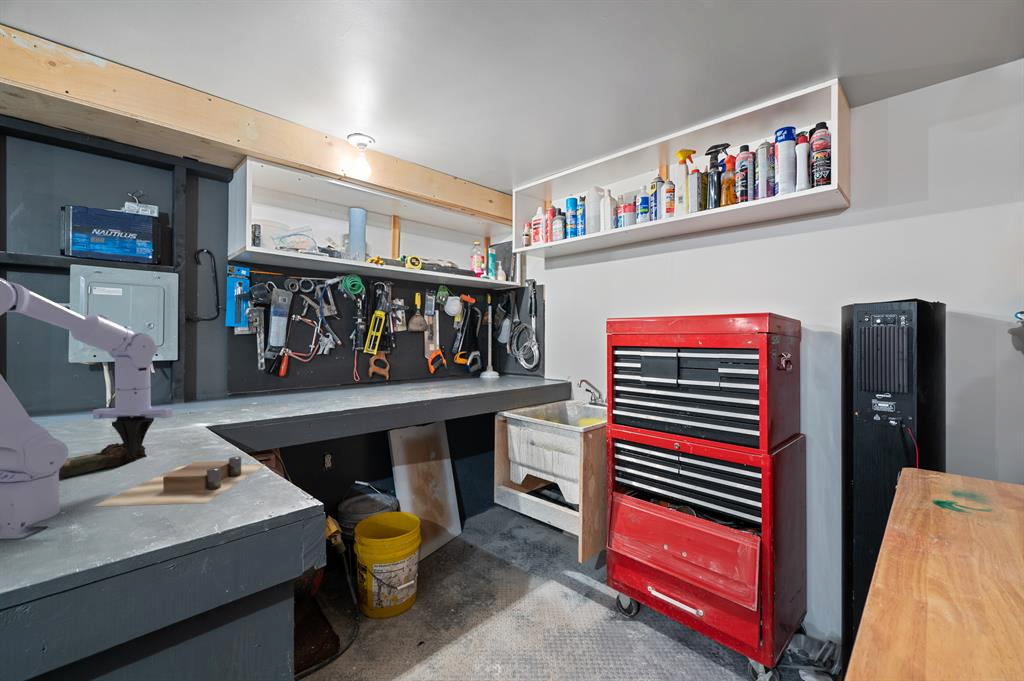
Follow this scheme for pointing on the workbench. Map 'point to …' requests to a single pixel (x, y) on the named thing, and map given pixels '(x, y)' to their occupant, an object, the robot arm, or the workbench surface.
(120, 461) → the mossy wood log
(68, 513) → the workbench surface
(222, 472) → the walnut plate
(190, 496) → the bench board
